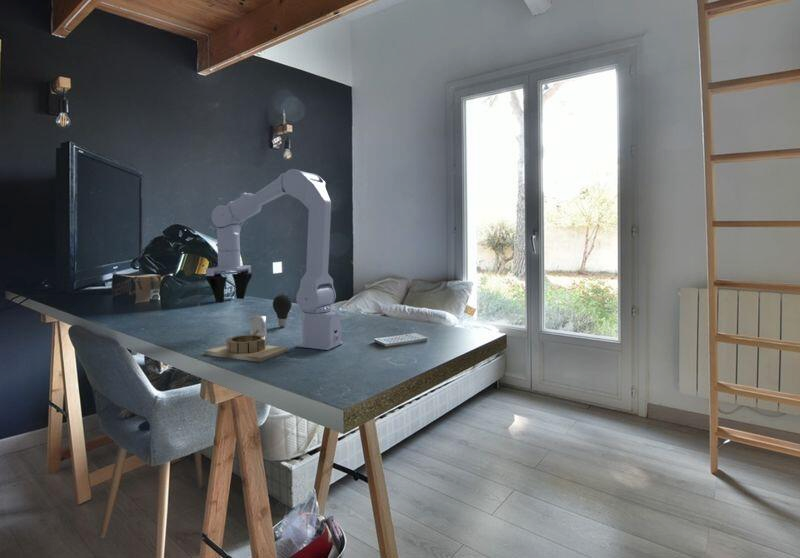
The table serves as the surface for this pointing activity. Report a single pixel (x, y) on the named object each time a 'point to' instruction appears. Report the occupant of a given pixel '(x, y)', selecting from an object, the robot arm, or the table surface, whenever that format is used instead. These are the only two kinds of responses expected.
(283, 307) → the light bulb
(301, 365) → the table surface
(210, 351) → the socket base
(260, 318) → the bayonet cap
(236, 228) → the robot arm
